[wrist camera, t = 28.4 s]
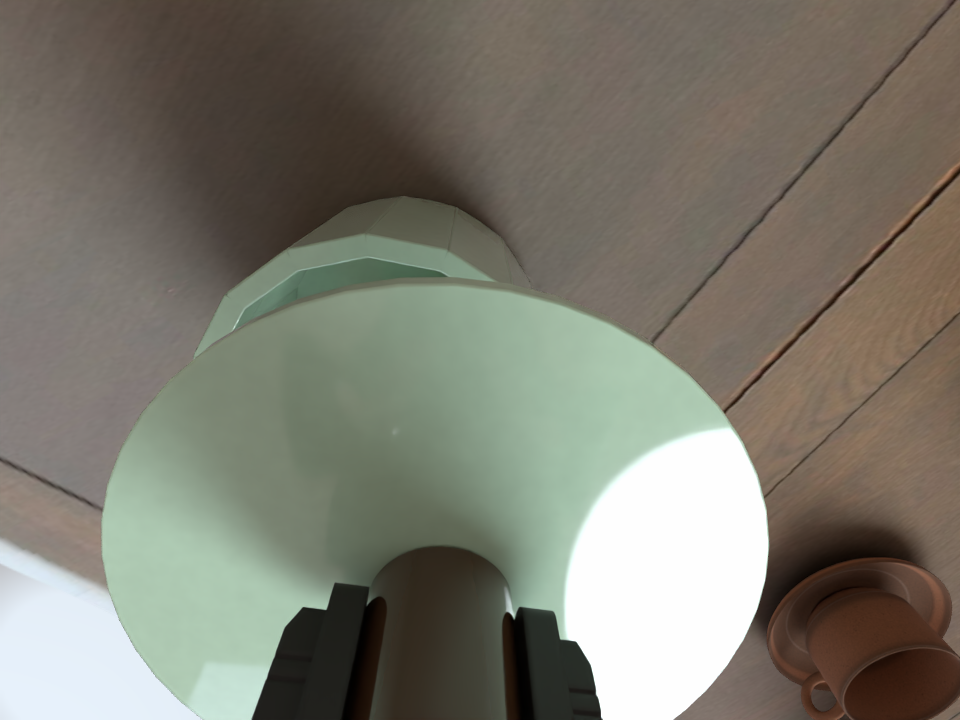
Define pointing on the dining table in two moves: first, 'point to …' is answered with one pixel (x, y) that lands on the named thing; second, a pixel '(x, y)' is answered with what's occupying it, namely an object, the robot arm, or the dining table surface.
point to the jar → (370, 257)
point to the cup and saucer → (868, 640)
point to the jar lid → (436, 504)
